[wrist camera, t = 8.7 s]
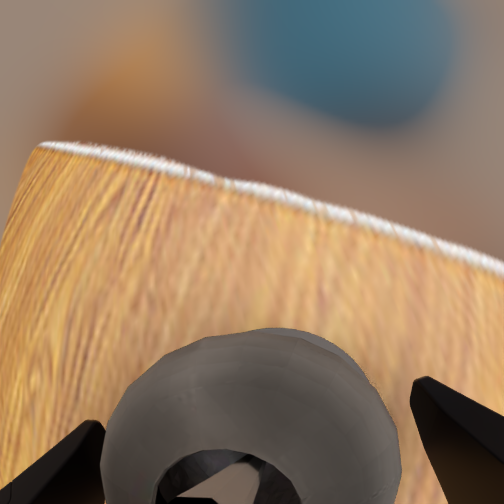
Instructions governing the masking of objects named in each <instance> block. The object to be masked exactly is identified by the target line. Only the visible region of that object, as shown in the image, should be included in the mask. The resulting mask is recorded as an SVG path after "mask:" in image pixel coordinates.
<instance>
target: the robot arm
mask: <svg viewBox="0 0 504 504" xmlns="http://www.w3.org/2000/svg"><path fill="white" fill-rule="evenodd" d="M410 407H411V410H412V413H413V416H414V419H415V422H416V425H417V428H418V431H419V434H420V437H421V440H422V443H423V446H424V449H425V451H426V454H427V456H428V458H429V460H430V462H431V465H432V467H433V469H434V471H435V474H436V476H437V478H438V480H439V483H440V485H441V487H442V490H443V492H444V494H445V497H446V499H447V501H448V504H504V416H502V415H500V414H498V413H496V412H494V411H493V410H491V409H489V408H487V407H485V406H483V405H481V404H479V403H477V402H476V401H474V400H472V399H470V398H468V397H466V396H464V395H462V394H461V393H459V392H457V391H455V390H453V389H451V388H450V387H448V386H446V385H444V384H442V383H440V382H438V381H437V380H435V379H433V378H431V377H429V376H424V377H421V378H418V379H415V380H414V382H413V385H412V390H411V395H410ZM105 433H106V430H105V429H104V427H103V426H102V424H101V423H100V422H99V421H97V420H85V421H84V422H83V423H82V424H80V425H79V426H78V427H77V428H76V429H74V430H73V431H72V432H71V433H70V434H68V435H67V436H66V437H65V438H64V439H62V440H61V441H60V442H59V443H58V444H56V445H55V446H54V447H53V448H52V449H50V450H49V451H48V452H47V453H46V454H44V455H43V456H42V457H41V458H39V459H38V460H37V461H36V462H35V463H33V464H32V465H31V466H30V467H28V468H27V469H26V470H25V471H24V472H22V473H21V474H20V475H19V476H17V477H16V478H15V479H14V480H13V481H12V482H10V483H9V484H7V485H6V486H5V487H4V488H2V489H1V490H0V504H104V503H105V494H104V489H103V483H102V477H101V470H100V461H101V455H102V450H103V444H104V439H105Z"/></svg>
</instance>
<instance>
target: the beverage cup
mask: <svg viewBox="0 0 504 504" xmlns="http://www.w3.org/2000/svg"><path fill="white" fill-rule="evenodd" d="M100 470H101V477H102V483H103V489H104V494H105V500H106V504H394V502H395V498H396V495H397V491H398V487H399V483H400V479H401V472H402V467H401V458H400V450H399V442H398V434H397V428H396V426H395V424H394V422H393V420H392V418H391V416H390V414H389V412H388V411H387V409H386V407H385V405H384V403H383V401H382V399H381V397H380V396H379V394H378V392H377V390H376V389H375V388H374V387H373V386H372V385H371V384H370V383H369V382H368V381H367V380H365V379H364V378H363V377H362V376H361V375H360V374H359V373H358V372H357V371H356V370H355V369H353V368H352V367H351V366H350V365H349V364H348V363H347V362H346V361H345V360H344V359H343V358H342V357H340V356H338V355H336V354H334V353H332V352H329V351H327V350H325V349H323V348H321V347H319V346H316V345H314V344H312V343H310V342H308V341H306V340H304V339H302V338H296V337H289V336H282V335H275V334H268V333H262V332H255V331H250V332H243V333H236V334H228V335H220V336H212V337H205V338H203V339H200V340H198V341H196V342H194V343H191V344H189V345H187V346H185V347H182V348H180V349H178V350H175V351H173V352H171V353H168V354H166V355H164V356H163V357H162V358H161V359H160V360H159V361H157V362H156V363H155V364H154V365H153V366H152V367H150V368H149V369H148V370H147V371H146V372H145V373H144V374H142V375H141V376H140V377H139V378H138V379H137V380H136V381H134V382H133V383H132V384H131V385H130V386H129V387H128V388H127V390H126V391H125V393H124V395H123V397H122V398H121V400H120V402H119V403H118V405H117V407H116V409H115V410H114V412H113V414H112V416H111V417H110V419H109V421H108V424H107V428H106V433H105V439H104V444H103V450H102V455H101V461H100Z"/></svg>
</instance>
